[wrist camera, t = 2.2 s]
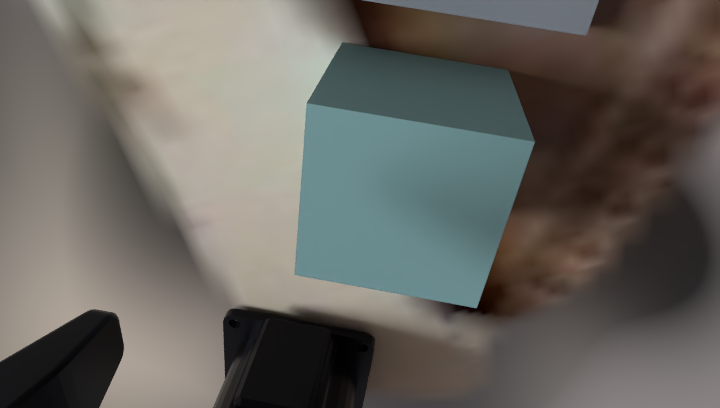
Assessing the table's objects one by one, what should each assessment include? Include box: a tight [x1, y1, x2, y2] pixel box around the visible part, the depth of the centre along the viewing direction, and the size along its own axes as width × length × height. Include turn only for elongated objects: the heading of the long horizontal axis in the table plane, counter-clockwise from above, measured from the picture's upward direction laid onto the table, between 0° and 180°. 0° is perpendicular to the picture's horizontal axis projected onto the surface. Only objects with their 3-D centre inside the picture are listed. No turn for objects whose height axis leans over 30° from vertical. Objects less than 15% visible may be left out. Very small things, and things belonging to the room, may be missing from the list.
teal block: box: [295, 43, 535, 308], centre depth 14 cm, size 5×5×5 cm
